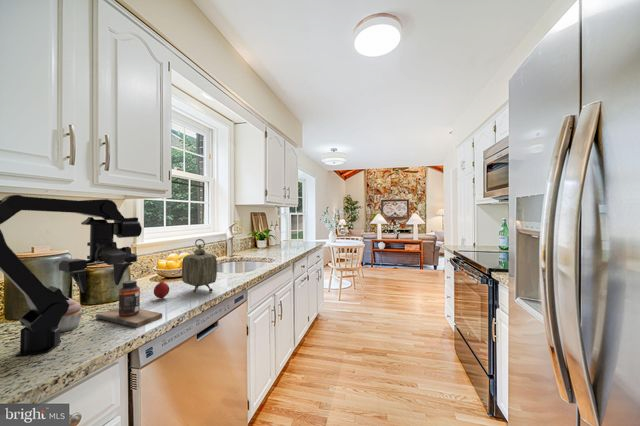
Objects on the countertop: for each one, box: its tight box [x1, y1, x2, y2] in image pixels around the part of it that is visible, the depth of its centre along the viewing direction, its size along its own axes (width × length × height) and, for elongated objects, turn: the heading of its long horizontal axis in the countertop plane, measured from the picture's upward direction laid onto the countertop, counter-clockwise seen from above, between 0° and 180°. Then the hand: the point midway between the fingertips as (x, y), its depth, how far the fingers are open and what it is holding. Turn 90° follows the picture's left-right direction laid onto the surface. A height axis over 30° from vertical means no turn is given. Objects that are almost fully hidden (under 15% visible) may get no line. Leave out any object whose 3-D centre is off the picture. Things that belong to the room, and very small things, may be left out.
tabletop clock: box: [181, 238, 218, 294], centre depth 125 cm, size 14×9×25 cm, turn 60°
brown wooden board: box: [94, 307, 163, 328], centre depth 92 cm, size 10×20×2 cm, turn 69°
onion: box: [153, 279, 170, 300], centre depth 113 cm, size 6×6×8 cm
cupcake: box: [58, 297, 86, 333], centre depth 83 cm, size 9×9×10 cm
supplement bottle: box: [118, 279, 141, 316], centre depth 92 cm, size 6×6×11 cm
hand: (101, 288), depth 83 cm, fingers open, 9 cm apart
